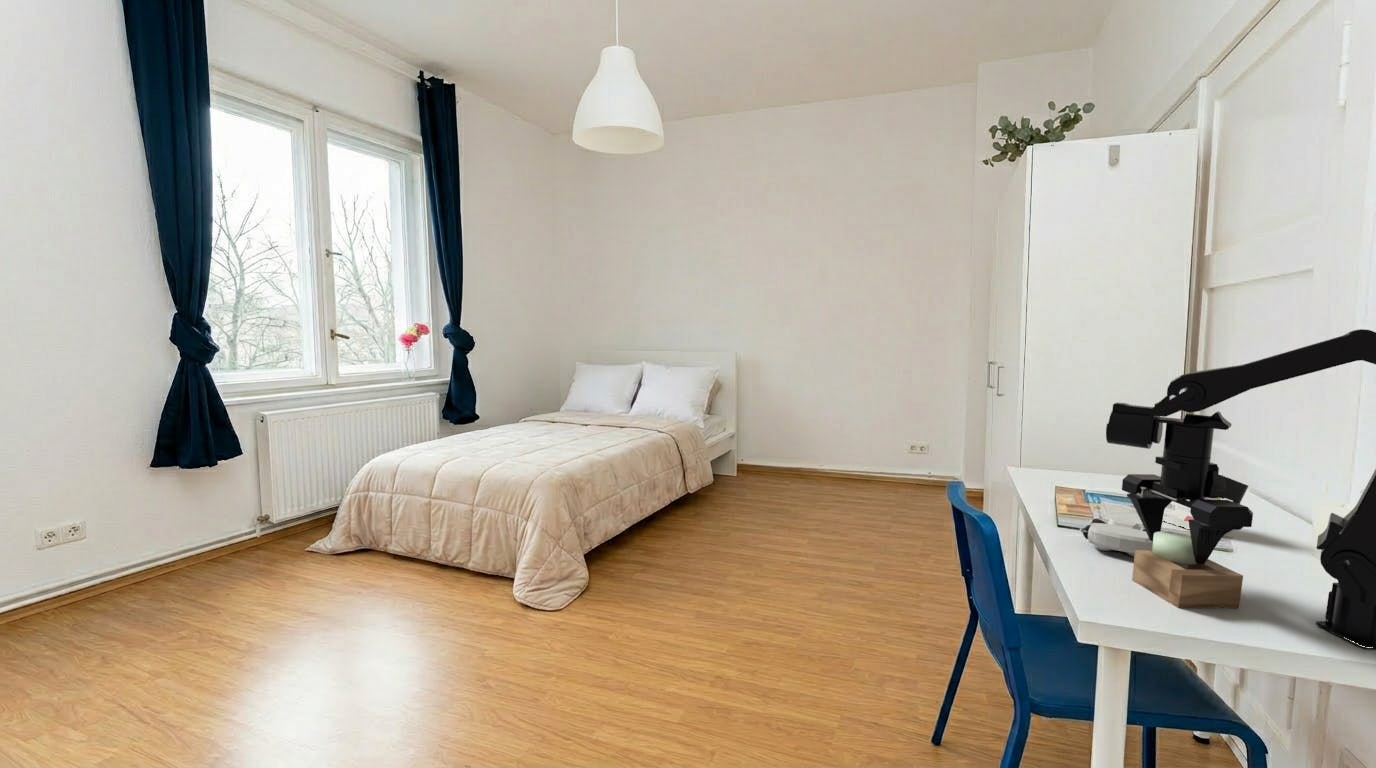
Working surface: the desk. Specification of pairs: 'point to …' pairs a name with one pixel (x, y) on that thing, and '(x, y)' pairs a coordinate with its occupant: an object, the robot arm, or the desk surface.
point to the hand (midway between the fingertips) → (1175, 551)
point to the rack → (1188, 582)
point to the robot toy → (1117, 536)
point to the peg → (1173, 548)
